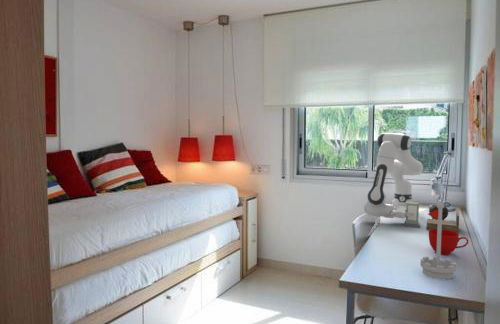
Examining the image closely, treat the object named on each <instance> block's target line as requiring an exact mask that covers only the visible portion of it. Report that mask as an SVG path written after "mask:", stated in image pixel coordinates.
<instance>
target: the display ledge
mask: <svg viewBox="0 0 500 324" xmlns="http://www.w3.org/2000/svg"><path fill="white" fill-rule="evenodd" d="M459 225H460V214H459V211H456V212H455V220H446V219H444V220H442V230H449V231H454V232H457V233H458V234H460V233H459V232H460V231H459V230H460V229H459V228H460V226H459ZM437 226H438V220H437V219H432V218H427V219H426V230H427V231H429V230H433V229H437Z"/></svg>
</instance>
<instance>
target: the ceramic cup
mask: <svg viewBox="0 0 500 324" xmlns="http://www.w3.org/2000/svg"><path fill="white" fill-rule="evenodd" d="M428 239H429V240H428V241H429V242H428V243H429V244H430V247H431V248H432V250H433V251H434V252H435V253H436V252H437V229H433V230H428ZM462 239H463V240H466V243H464V244H462V245H459V246H458V244H459V242H460V240H462ZM468 245H469V238H467V237H465V236H461V237H460V233H457V232H454V231H449V230H442V231H441V255H444V256H449V255H451V254H452V253H453V252H454V251H455V250H456V249H462V248H465V247H466V246H468Z"/></svg>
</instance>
